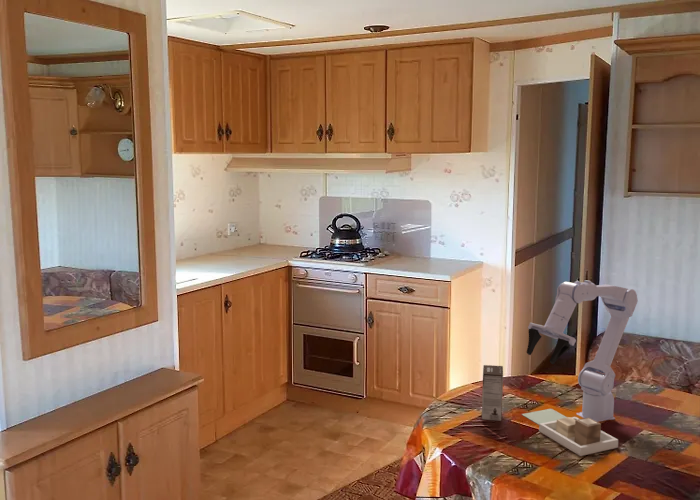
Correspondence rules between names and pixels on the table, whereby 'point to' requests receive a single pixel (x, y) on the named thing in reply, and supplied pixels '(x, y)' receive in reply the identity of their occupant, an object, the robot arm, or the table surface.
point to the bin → (604, 444)
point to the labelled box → (587, 431)
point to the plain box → (566, 427)
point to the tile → (544, 416)
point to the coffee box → (492, 392)
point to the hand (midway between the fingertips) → (539, 358)
